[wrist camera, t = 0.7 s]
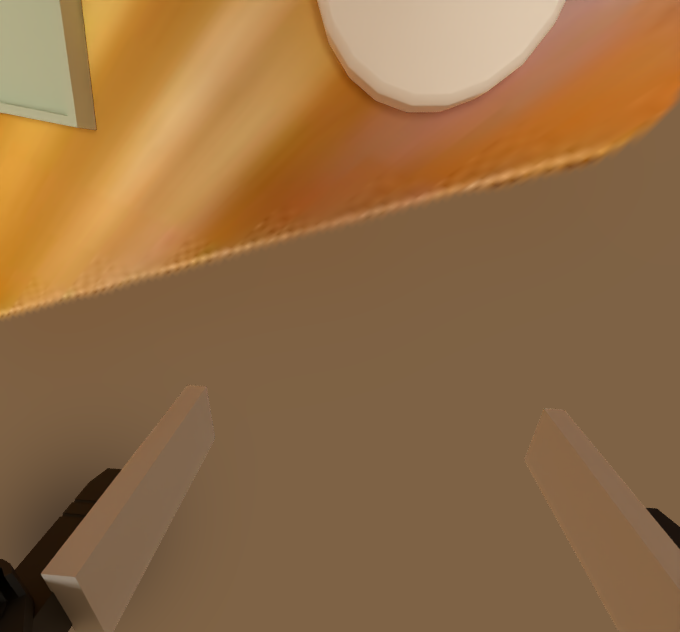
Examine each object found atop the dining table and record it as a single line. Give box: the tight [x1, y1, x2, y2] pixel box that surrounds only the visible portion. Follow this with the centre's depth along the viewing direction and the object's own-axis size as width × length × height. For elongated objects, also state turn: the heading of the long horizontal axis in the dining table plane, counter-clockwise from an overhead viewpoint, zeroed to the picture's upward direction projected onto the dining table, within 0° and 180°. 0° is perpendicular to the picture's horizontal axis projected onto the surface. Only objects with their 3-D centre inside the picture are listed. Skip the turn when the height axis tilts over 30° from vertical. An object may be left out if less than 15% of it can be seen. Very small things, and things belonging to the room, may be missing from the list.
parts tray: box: [0, 0, 96, 130], centre depth 29 cm, size 14×12×2 cm
